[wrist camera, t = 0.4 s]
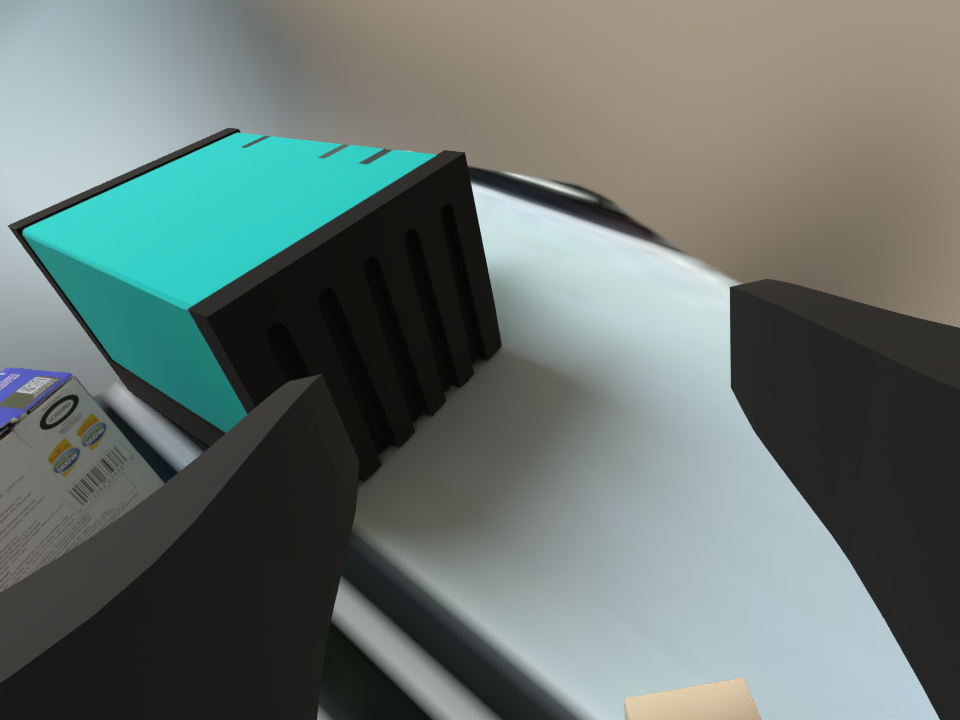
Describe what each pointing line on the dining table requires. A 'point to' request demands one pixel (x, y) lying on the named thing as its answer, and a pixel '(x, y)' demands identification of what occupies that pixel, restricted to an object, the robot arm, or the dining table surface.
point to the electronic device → (278, 280)
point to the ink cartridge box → (59, 470)
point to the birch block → (696, 703)
